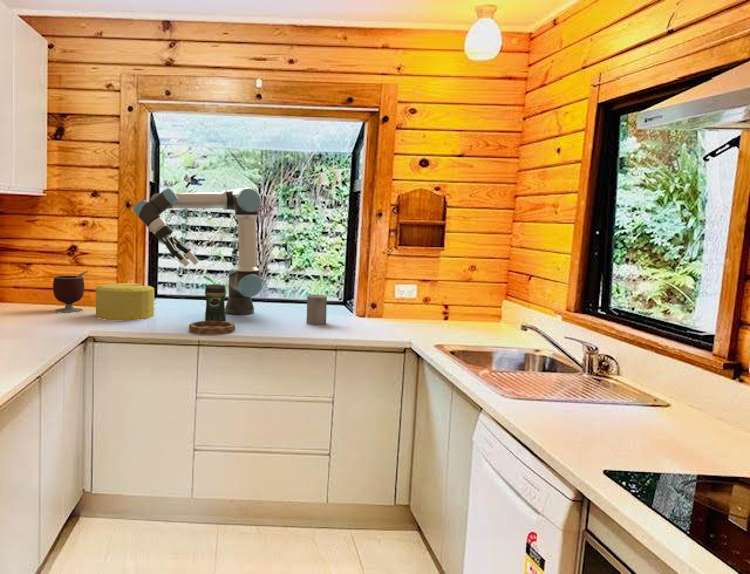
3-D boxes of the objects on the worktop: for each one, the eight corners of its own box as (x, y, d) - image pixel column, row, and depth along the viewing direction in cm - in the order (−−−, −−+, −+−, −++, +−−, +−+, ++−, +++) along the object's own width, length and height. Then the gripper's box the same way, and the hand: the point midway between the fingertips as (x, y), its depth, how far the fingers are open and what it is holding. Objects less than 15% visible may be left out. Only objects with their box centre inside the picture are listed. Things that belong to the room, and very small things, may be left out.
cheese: (161, 313, 303) (161, 284, 302) (143, 322, 277) (143, 290, 276) (109, 311, 302) (109, 281, 301) (85, 319, 276) (85, 287, 275)
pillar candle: (311, 320, 301) (312, 291, 299) (329, 322, 297) (330, 292, 296) (302, 324, 292) (303, 293, 290) (321, 325, 288) (321, 295, 287)
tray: (228, 325, 278) (228, 320, 277) (239, 333, 261) (239, 327, 261) (185, 327, 269) (185, 321, 268) (194, 335, 252) (194, 329, 252)
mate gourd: (53, 313, 288) (53, 272, 286) (52, 309, 300) (52, 269, 298) (89, 312, 296) (89, 272, 294) (86, 308, 308) (86, 269, 306)
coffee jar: (226, 322, 285) (227, 283, 283) (224, 325, 278) (225, 285, 276) (205, 322, 284) (206, 283, 282) (203, 325, 276) (203, 285, 274)
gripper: (165, 234, 289) (195, 267, 291) (144, 235, 265) (177, 271, 266) (176, 224, 289) (206, 257, 290) (156, 224, 264) (189, 260, 265)
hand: (192, 264), depth 278 cm, fingers open, 13 cm apart
